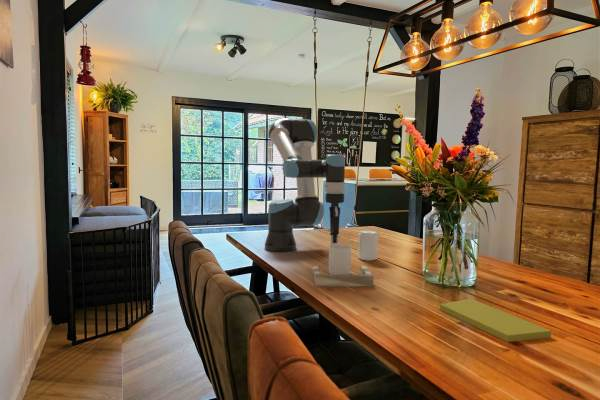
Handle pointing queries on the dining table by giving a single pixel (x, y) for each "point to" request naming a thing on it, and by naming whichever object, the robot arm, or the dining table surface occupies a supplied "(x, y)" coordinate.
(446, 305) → the flat olive board
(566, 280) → the dining table surface
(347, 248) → the mug
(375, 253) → the beverage can
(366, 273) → the dock
